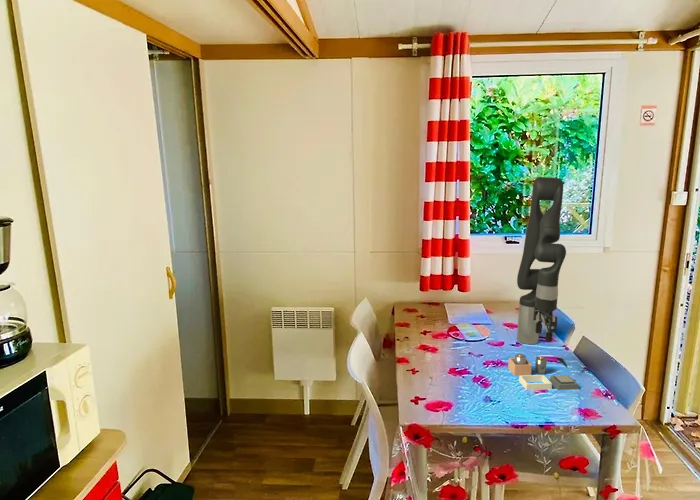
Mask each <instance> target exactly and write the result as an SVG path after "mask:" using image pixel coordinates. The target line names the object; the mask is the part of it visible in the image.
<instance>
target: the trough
mask: <svg viewBox="0 0 700 500" xmlns="http://www.w3.org/2000/svg"><path fill="white" fill-rule="evenodd" d="M549 380H550V379H548V378H547V376H546V375H545V374H544V375H540V374H531V375H523V376H518V382H519V383H520V384H521V386H522V387H523V388H524V389H525V390H526V391H537V390H538V391H540V390H544V391H545V390H552V388H553V387H552V386H553V385H552V383H551V382H550V381H549ZM530 382H531V383H530ZM533 382H534V383H533ZM535 382H536V383H535Z"/></svg>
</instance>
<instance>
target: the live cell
mask: <svg viewBox="0 0 700 500" xmlns="http://www.w3.org/2000/svg"><path fill="white" fill-rule="evenodd" d="M547 364H548V359H547V358H546V357H544V356H541V355H540V356H537V357H535V364H534V373H535V374H536V375H544V376H545V375H546V374H547Z"/></svg>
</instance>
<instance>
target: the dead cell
mask: <svg viewBox="0 0 700 500" xmlns="http://www.w3.org/2000/svg"><path fill="white" fill-rule="evenodd" d="M514 358H515V364H516V365H525V364H526V360H527V356H526V355H525V354H522V353H516V354H515V355H514Z"/></svg>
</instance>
